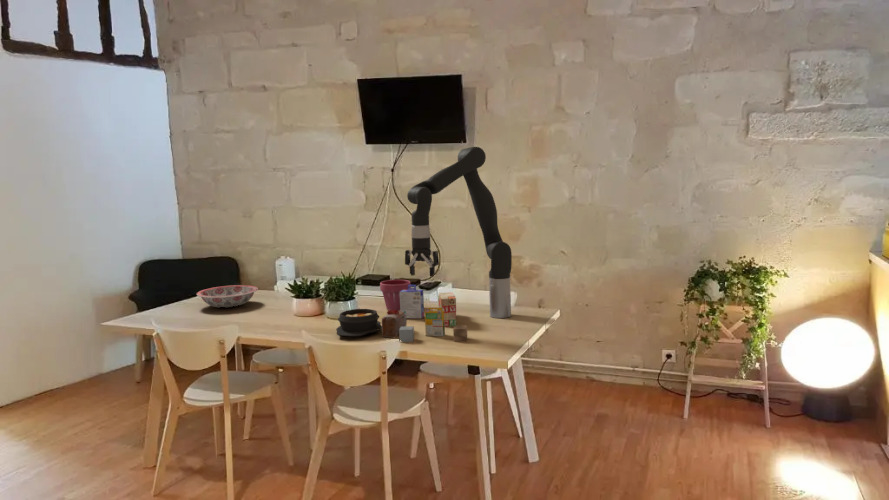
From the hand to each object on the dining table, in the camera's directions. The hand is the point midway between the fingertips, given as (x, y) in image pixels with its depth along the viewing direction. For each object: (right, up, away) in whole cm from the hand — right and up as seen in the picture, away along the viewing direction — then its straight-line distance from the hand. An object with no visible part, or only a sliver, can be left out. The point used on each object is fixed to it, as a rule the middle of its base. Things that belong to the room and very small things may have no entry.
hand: (422, 275), depth 280 cm
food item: (-11, -24, 0) cm, 26 cm away
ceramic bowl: (-98, -18, +63) cm, 118 cm away
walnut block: (+15, -24, -13) cm, 32 cm away
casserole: (-26, -24, +3) cm, 35 cm away
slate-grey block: (-6, -25, -12) cm, 28 cm away
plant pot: (-14, -17, +45) cm, 50 cm away
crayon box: (+5, -24, -6) cm, 25 cm away
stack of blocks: (+10, -20, +18) cm, 29 cm away
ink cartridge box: (-5, -20, +26) cm, 33 cm away
